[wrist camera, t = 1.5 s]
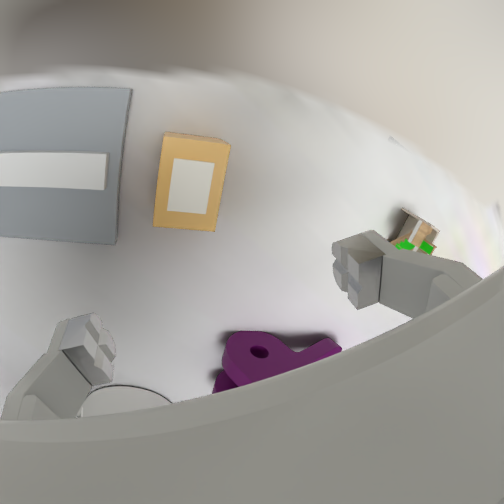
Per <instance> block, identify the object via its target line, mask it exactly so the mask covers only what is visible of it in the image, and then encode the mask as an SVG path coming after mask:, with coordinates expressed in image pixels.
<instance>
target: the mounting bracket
mask: <svg viewBox="0 0 504 504" xmlns="http://www.w3.org/2000/svg"><path fill="white" fill-rule="evenodd" d="M341 351H342V348H341V347H340V346H339V345H338V344H336V343H335V342H334V341H333V340H331V339H330V338H325V339H323V340H321V341H319V342H317V343H316V344H314V345H312V346H310V347H308V348H306V349H304V350H303V351H301V352H294V351H292V350H291V349H290V348H289V347H287V346H286V345H285V344H284V343H283V342H282V341H280V340H279V339H278V338H276V337H274V336H272V335H270V334H268V333H265V332H262V331H239V332H236V333H234V334H233V335H231V336H230V337H229V339H228V341H227V343H226V347H225V350H224V354H223V357H222V365H223V368H224V371H222V372H221V373H220V374H219V375H218V376H217V378H216V381H215V384H214V388H213V391H212V394H215V393H219V392H222V391H226V390H230V389H233V388H237V387H240V386H244V385H247V384H251V383H254V382H257V381H260V380H264V379H267V378H270V377H273V376H276V375H279V374H282V373H285V372H288V371H291V370H294V369H297V368H300V367H303V366H305V365H308V364H311V363H314V362H316V361H319V360H322V359H324V358H327V357H329V356H332V355H334V354H337V353H339V352H341Z"/></svg>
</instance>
